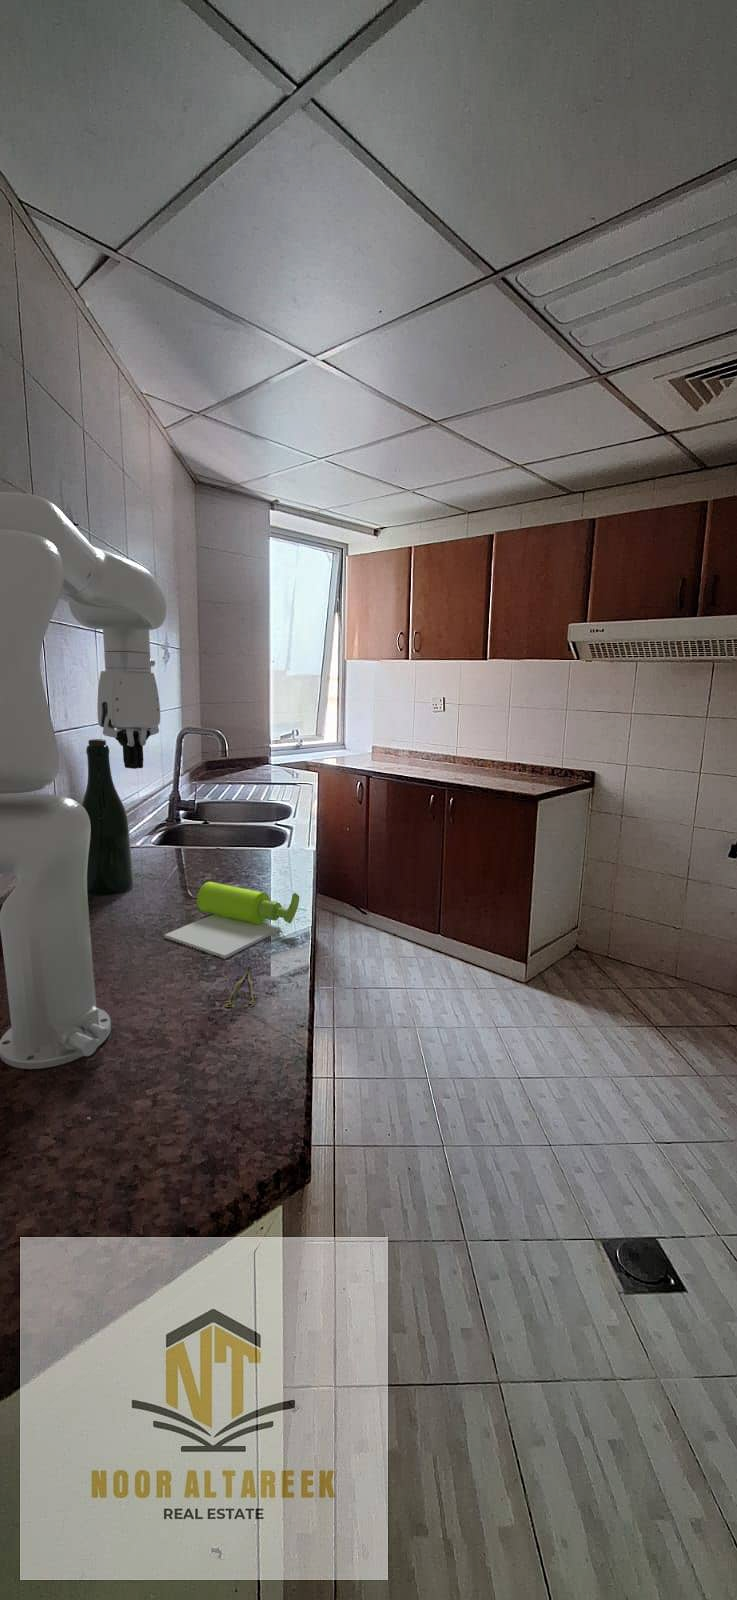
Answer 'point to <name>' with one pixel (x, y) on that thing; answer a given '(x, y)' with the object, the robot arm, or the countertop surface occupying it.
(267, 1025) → the countertop surface
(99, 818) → the green wine bottle
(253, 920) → the soap dispenser
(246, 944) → the grey mat
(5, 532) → the robot arm
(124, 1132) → the countertop surface
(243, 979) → the tongs
